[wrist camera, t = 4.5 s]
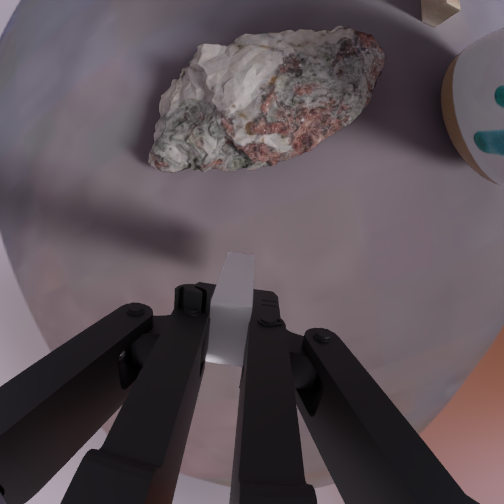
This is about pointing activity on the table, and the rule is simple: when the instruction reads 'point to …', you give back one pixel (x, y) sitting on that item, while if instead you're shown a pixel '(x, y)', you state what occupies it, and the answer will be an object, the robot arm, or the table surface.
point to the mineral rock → (264, 98)
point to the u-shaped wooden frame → (438, 10)
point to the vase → (477, 105)
